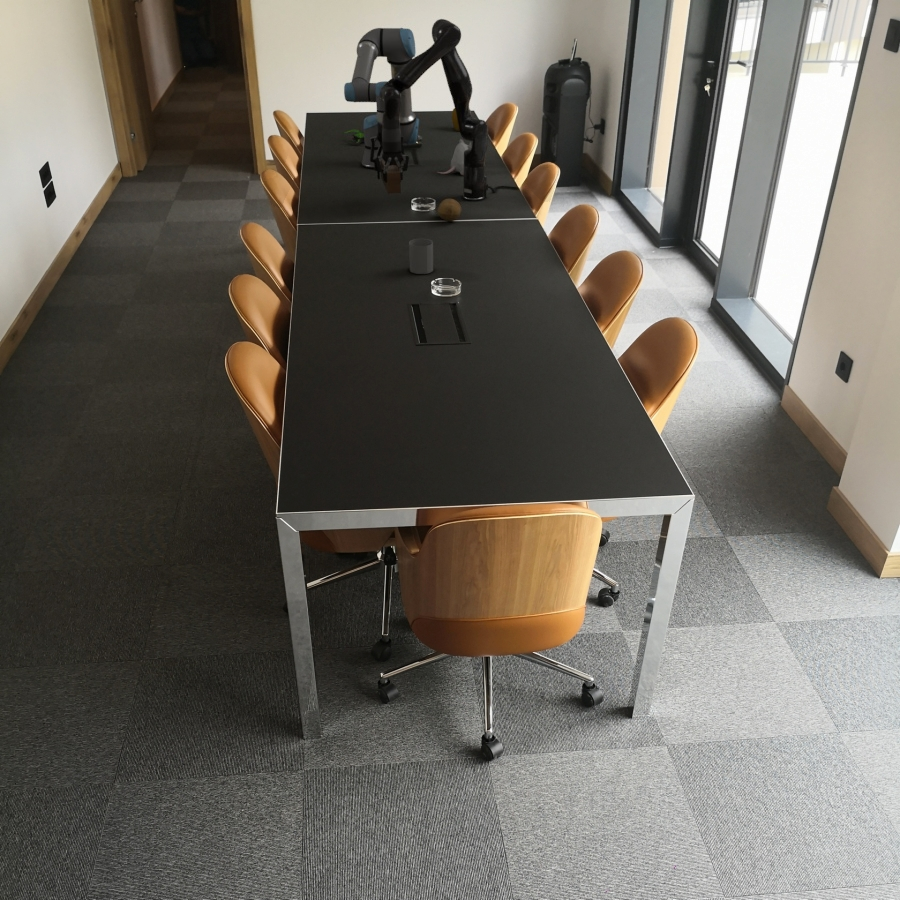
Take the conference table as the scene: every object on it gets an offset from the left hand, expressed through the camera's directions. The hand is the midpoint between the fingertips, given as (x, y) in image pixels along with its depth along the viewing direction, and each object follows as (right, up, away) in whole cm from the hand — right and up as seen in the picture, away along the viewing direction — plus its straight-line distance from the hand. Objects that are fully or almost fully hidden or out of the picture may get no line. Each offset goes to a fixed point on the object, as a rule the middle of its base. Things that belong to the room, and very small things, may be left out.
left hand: (388, 177), depth 372 cm
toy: (+29, +14, +40) cm, 51 cm away
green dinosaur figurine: (-16, +48, +94) cm, 107 cm away
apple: (+33, +64, +118) cm, 139 cm away
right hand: (+3, -6, -15) cm, 17 cm away
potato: (+26, -23, -17) cm, 39 cm away
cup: (+16, -53, -64) cm, 85 cm away
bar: (+2, -5, -6) cm, 8 cm away
